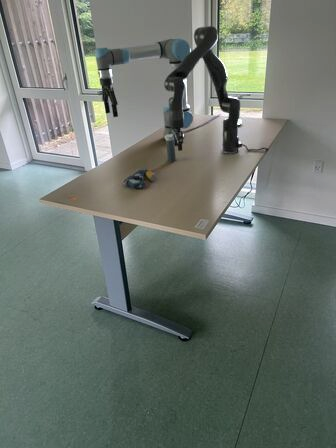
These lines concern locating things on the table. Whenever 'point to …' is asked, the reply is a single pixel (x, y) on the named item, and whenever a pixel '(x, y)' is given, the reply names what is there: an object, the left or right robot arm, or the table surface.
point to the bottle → (171, 151)
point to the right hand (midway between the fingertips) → (178, 148)
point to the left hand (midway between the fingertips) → (111, 114)
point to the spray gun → (139, 178)
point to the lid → (169, 137)
